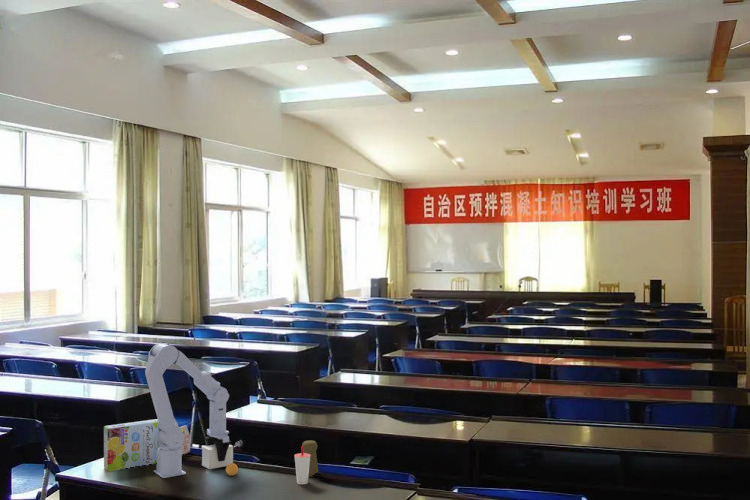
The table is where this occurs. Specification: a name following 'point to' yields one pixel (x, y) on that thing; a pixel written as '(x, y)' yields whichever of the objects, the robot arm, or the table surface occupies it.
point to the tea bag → (185, 440)
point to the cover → (215, 457)
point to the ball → (231, 469)
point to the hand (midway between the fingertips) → (217, 458)
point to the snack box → (130, 445)
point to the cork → (311, 449)
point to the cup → (302, 466)
